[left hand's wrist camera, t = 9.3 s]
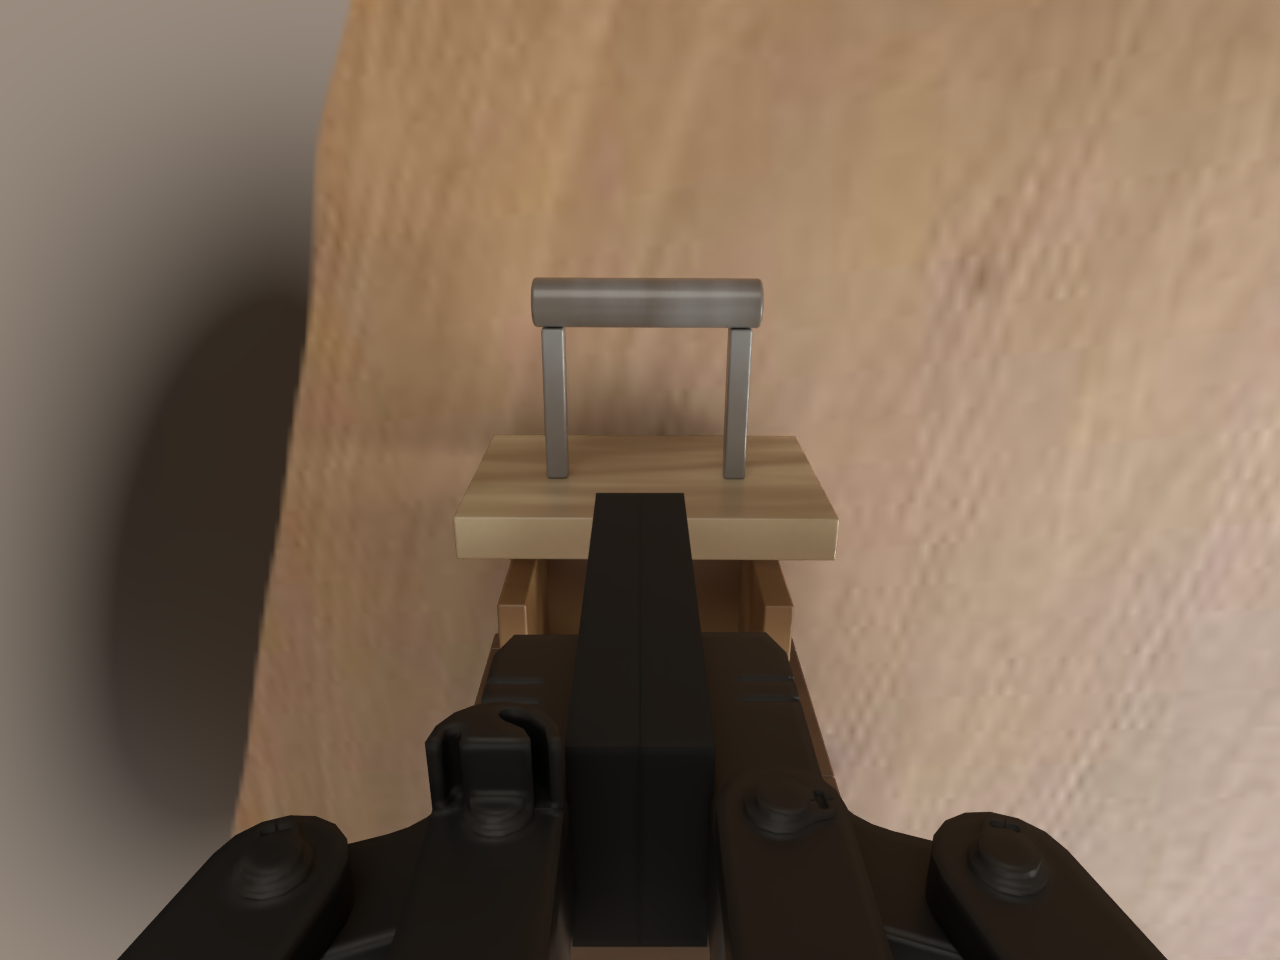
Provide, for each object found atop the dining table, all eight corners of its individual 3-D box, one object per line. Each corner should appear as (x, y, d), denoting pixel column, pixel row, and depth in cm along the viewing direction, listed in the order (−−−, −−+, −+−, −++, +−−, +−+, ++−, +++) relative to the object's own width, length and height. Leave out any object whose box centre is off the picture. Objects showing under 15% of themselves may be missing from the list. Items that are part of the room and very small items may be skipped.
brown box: (494, 633, 32) (445, 799, 24) (791, 634, 32) (843, 800, 24) (516, 959, 38) (483, 1178, 30) (764, 959, 38) (798, 1179, 30)
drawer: (483, 259, 26) (434, 296, 20) (809, 261, 26) (862, 298, 20) (516, 807, 33) (488, 957, 27) (767, 808, 33) (796, 958, 27)
